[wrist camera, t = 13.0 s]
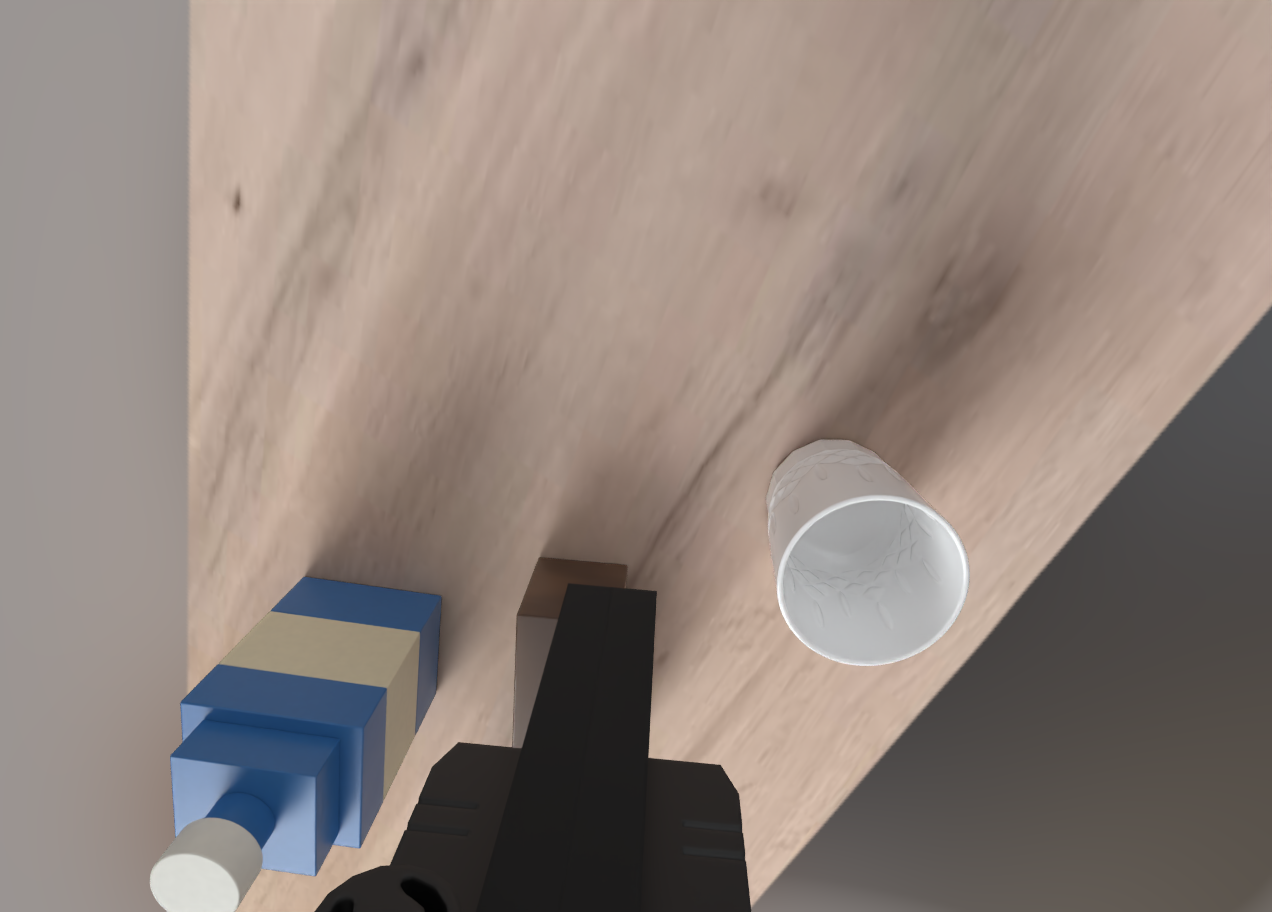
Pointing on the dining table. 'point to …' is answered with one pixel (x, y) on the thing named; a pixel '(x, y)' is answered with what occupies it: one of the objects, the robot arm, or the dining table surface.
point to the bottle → (296, 738)
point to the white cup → (861, 556)
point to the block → (548, 624)
